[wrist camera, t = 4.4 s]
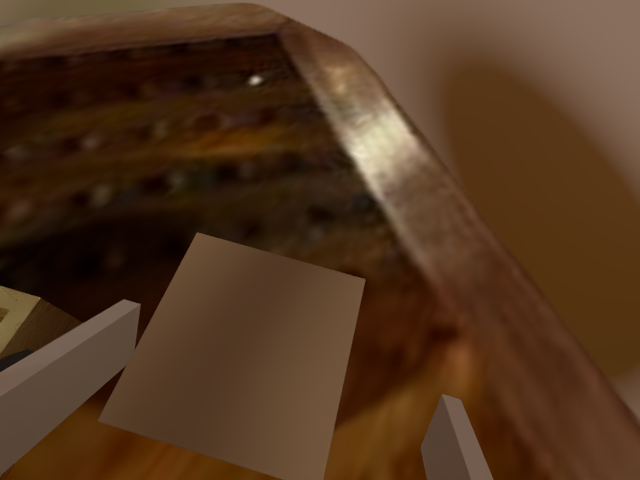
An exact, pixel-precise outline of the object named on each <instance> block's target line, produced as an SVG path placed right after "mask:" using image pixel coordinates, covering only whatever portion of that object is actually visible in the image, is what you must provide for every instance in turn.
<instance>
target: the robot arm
mask: <svg viewBox="0 0 640 480" xmlns="http://www.w3.org/2000/svg"><path fill="white" fill-rule="evenodd" d="M140 305H141V304H138V303H135V302H131V301H128V300H125V299H124V300H122V301H120V302H118V303H117V304H115V305H113V306H112V307H110V308H108V309H107V310H105V311H103V312H102V313H100V314H98V315H96V316H95V317H93V318H91V319H90V320H88V321H86V322H85V323H83V324H81V325H80V326H78V327H76V328H74V329H73V330H71V331H69V332H68V333H66V334H64V335H63V336H61V337H59V338H58V339H56V340H54V341H52V342H51V343H49V344H47V345H46V346H44V347H42V348H41V349H39V350H37V351H36V352H35V351H32V350H29V349H26V350H23V351H20V352H17V353H14V354H11V355H8V356H6V357H4V358H2V359H0V476H1V475H2V474H3V473H4V472H5V471H6V470H8V469H9V468H10V467H11V466H12V465H13V464H14V463H16V462H17V461H18V460H19V459H20V458H21V457H22V456H24V455H25V454H26V453H27V452H28V451H29V450H30V449H31V448H33V447H34V446H35V445H36V444H37V443H38V442H39V441H41V440H42V439H43V438H44V437H45V436H46V435H47V434H49V433H50V432H51V431H52V430H53V429H54V428H55V427H57V426H58V425H59V424H60V423H61V422H62V421H63V420H65V419H66V418H67V417H68V416H69V415H70V414H71V413H73V412H74V411H75V410H76V409H77V408H78V407H79V406H81V405H82V404H83V403H84V402H85V401H86V400H87V399H89V398H90V397H91V396H92V395H93V394H94V393H95V392H97V391H98V390H99V389H100V388H101V387H102V386H103V385H104V384H106V383H107V382H108V381H109V380H110V379H111V378H112V377H114V376H115V375H116V374H117V373H118V372H119V371H120V370H122V369H123V368H124V367H125V366H126V365H127V364H128V362H129V360H130V358H131V356H132V354H133V353H134V351H135V343H136V336H137V328H138V321H139V313H140ZM421 452H422V457H423V462H424V467H425V472H426V477H427V480H493V477H492V475H491V473H490V470H489V468H488V465H487V463H486V460H485V458H484V455H483V453H482V450H481V448H480V446H479V443H478V441H477V438H476V436H475V433H474V431H473V428H472V426H471V423H470V421H469V419H468V416H467V414H466V411H465V409H464V406H463V404H462V401H461V399H457V398H454V397H451V396H447V395H444V394H442V396H441V398H440V401H439V403H438V406H437V408H436V411H435V413H434V415H433V418H432V420H431V423H430V425H429V428H428V430H427V433H426V435H425V438H424V440H423V443H422V445H421Z"/></svg>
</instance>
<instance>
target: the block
mask: <svg viewBox="0 0 640 480" xmlns="http://www.w3.org/2000/svg"><path fill="white" fill-rule="evenodd" d="M365 280H366V279H362V278H359V277H355V276H352V275H348V274H345V273H341V272H337V271H334V270H330V269H327V268H323V267H319V266H316V265H312V264H309V263H305V262H302V261H298V260H294V259H291V258H287V257H284V256H280V255H276V254H273V253H269V252H266V251H262V250H259V249H255V248H251V247H248V246H244V245H241V244H237V243H233V242H230V241H226V240H223V239H219V238H216V237H212V236H208V235H205V234H201V233H198V232H197V234H196V236H195V238H194V239H193V241H192V243H191V245H190V247H189V249H188V251H187V253H186V254H185V256H184V258H183V260H182V262H181V264H180V266H179V268H178V270H177V271H176V273H175V275H174V277H173V279H172V281H171V283H170V285H169V287H168V288H167V290H166V292H165V294H164V296H163V298H162V300H161V302H160V304H159V305H158V307H157V309H156V311H155V313H154V315H153V317H152V319H151V320H150V322H149V324H148V326H147V328H146V330H145V332H144V334H143V336H142V337H141V339H140V341H139V343H138V345H137V347H136V349H135V351H134V353H133V354H132V356H131V358H130V360H129V362H128V364H127V366H126V368H125V370H124V371H123V373H122V375H121V377H120V379H119V381H118V383H117V385H116V386H115V388H114V390H113V392H112V394H111V396H110V398H109V400H108V402H107V403H106V405H105V407H104V409H103V411H102V413H101V415H100V417H99V419H98V420H97V421H98V422H101V423H104V424H107V425H110V426H114V427H117V428H120V429H123V430H126V431H130V432H133V433H136V434H139V435H142V436H146V437H149V438H152V439H155V440H158V441H162V442H165V443H168V444H171V445H174V446H178V447H181V448H184V449H187V450H190V451H194V452H197V453H200V454H203V455H206V456H210V457H213V458H216V459H219V460H222V461H226V462H229V463H232V464H235V465H238V466H242V467H245V468H248V469H251V470H254V471H258V472H261V473H264V474H267V475H270V476H274V477H277V478H280V479H283V480H323V478H324V473H325V468H326V464H327V459H328V454H329V449H330V445H331V440H332V435H333V431H334V426H335V421H336V416H337V412H338V407H339V402H340V397H341V393H342V388H343V383H344V379H345V374H346V369H347V364H348V360H349V355H350V350H351V346H352V341H353V336H354V331H355V327H356V322H357V317H358V313H359V308H360V303H361V298H362V294H363V289H364V284H365Z"/></svg>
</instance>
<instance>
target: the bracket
mask: <svg viewBox="0 0 640 480" xmlns="http://www.w3.org/2000/svg"><path fill="white" fill-rule="evenodd" d="M81 324H83V323H82V322H81V321H79V320H77V319H76V318H74V317H72V316H70V315H69V314H67V313H65V312H64V311H62V310H60V309H59V308H57V307H55V306H54V305H52V304H50V303H49V302H47V301H45V300H44V299H42V298H40V297H36V296H33V295H30V294H26V293H23V292H20V291H16V290H13V289H9V288H6V287H3V286H0V359H2V358H4V357H6V356H8V355H11V354H14V353H17V352H20V351H23V350H26V349H29V350H32V351H35V352H36V351H37V350H39V349H41V348H42V347H44V346H46V345H47V344H49V343H51V342H52V341H54V340H56V339H58V338H59V337H61V336H63V335H64V334H66V333H68V332H69V331H71V330H73V329H74V328H76V327H78V326H80V325H81ZM14 464H15V463H14ZM14 464H13V465H14ZM13 465H12V466H11V467H10V468H9V469H8V470H6V471H5V472H4V473H3V474H2V475H1V476H0V480H5V478H6V477H7V475H8V474H9V472H10V470H11V469H12V467H13Z"/></svg>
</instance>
